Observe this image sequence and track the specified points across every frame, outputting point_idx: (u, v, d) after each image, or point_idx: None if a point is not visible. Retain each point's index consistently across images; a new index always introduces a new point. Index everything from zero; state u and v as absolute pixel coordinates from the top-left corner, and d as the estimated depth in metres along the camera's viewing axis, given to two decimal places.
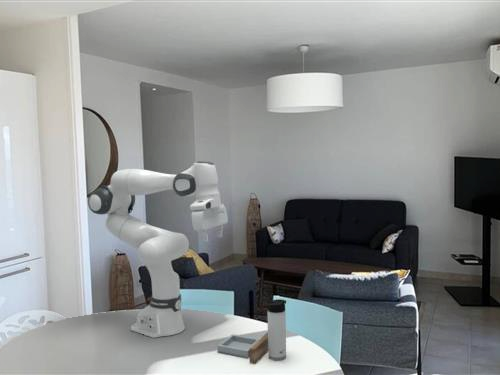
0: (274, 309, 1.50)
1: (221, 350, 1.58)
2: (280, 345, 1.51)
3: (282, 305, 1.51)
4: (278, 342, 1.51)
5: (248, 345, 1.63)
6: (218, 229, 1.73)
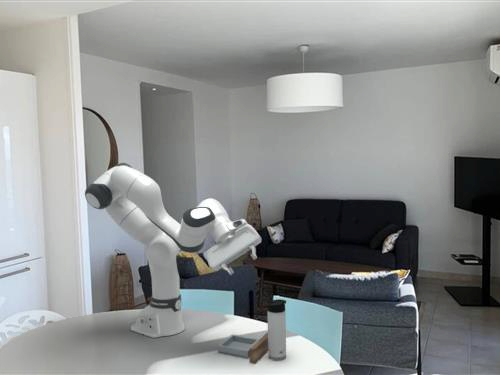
0: (274, 309, 1.50)
1: (221, 350, 1.58)
2: (280, 345, 1.51)
3: (282, 305, 1.51)
4: (278, 342, 1.51)
5: (248, 345, 1.63)
6: (225, 267, 1.51)
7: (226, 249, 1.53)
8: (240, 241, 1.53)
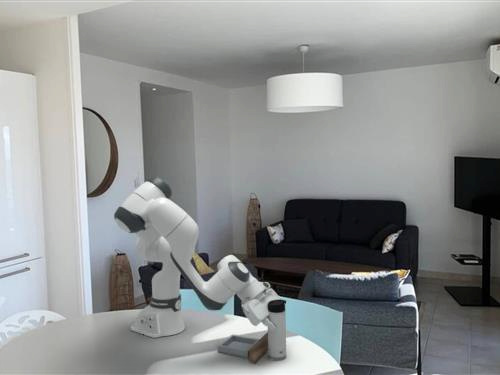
0: (274, 309, 1.50)
1: (221, 350, 1.58)
2: (280, 345, 1.51)
3: (282, 305, 1.51)
4: (278, 342, 1.51)
5: (248, 345, 1.63)
6: None
7: (264, 306, 1.53)
8: None
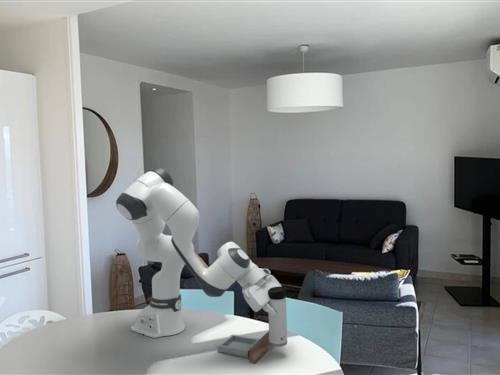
0: (275, 296, 1.50)
1: (221, 350, 1.58)
2: (281, 332, 1.52)
3: (283, 292, 1.51)
4: (279, 329, 1.51)
5: (248, 345, 1.63)
6: None
7: (265, 292, 1.53)
8: (271, 287, 1.58)
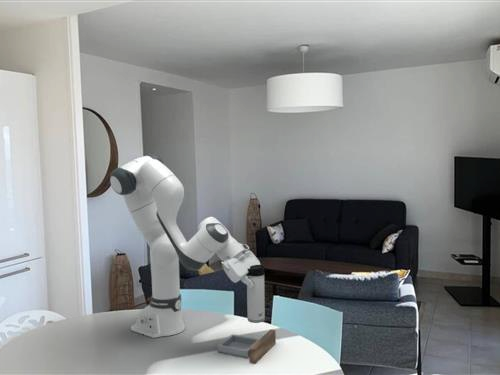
0: (254, 273, 1.55)
1: (221, 350, 1.58)
2: (259, 308, 1.56)
3: (261, 269, 1.56)
4: (258, 305, 1.56)
5: (248, 345, 1.63)
6: None
7: (243, 265, 1.58)
8: (250, 262, 1.63)
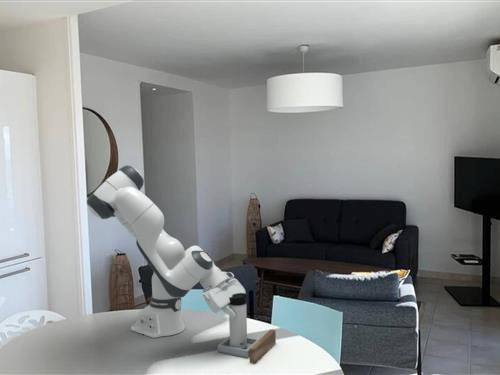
0: (235, 302, 1.56)
1: (221, 350, 1.58)
2: (240, 337, 1.57)
3: (243, 298, 1.57)
4: (239, 334, 1.57)
5: (248, 345, 1.63)
6: None
7: (225, 294, 1.59)
8: (233, 290, 1.64)
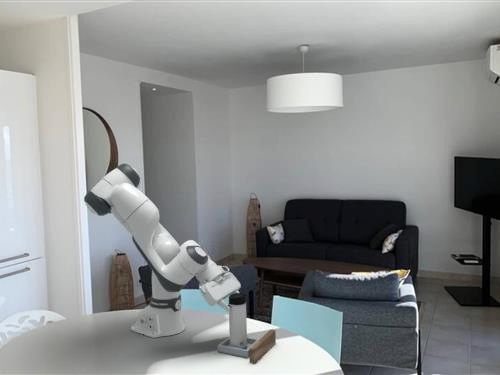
0: (234, 302, 1.57)
1: (221, 350, 1.58)
2: (240, 336, 1.57)
3: (242, 298, 1.57)
4: (239, 334, 1.57)
5: (248, 345, 1.63)
6: None
7: (221, 288, 1.61)
8: (229, 284, 1.66)
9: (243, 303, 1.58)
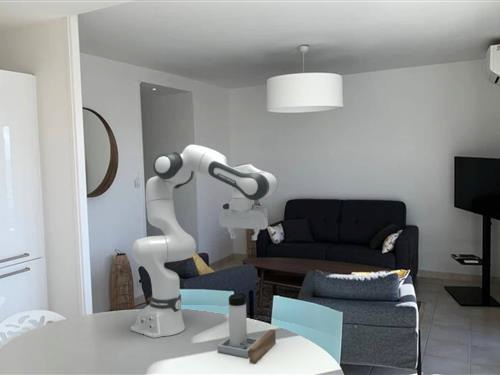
0: (234, 303, 1.56)
1: (221, 350, 1.58)
2: (240, 337, 1.57)
3: (242, 298, 1.57)
4: (239, 334, 1.57)
5: (248, 345, 1.63)
6: None
7: None
8: None
9: (243, 304, 1.57)
